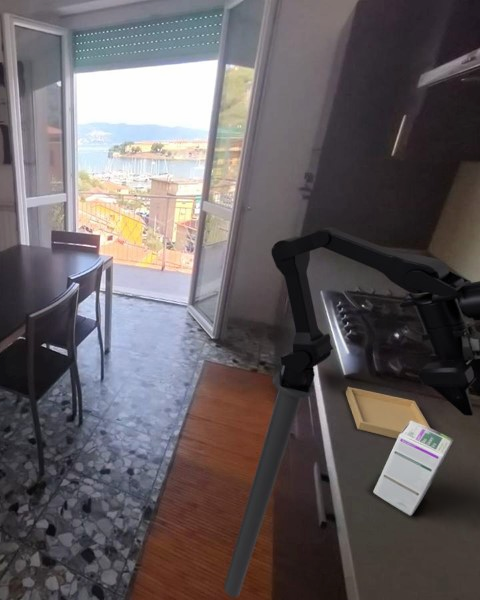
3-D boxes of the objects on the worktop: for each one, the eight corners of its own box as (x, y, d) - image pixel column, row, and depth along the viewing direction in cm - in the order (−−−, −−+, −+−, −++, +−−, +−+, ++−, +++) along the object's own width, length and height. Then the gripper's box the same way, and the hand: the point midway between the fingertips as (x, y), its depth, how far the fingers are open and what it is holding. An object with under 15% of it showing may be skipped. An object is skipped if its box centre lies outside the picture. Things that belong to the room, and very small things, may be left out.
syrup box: (411, 517, 61) (447, 456, 54) (370, 492, 65) (399, 433, 59) (421, 499, 64) (456, 439, 57) (381, 476, 68) (410, 418, 62)
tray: (357, 429, 79) (360, 422, 78) (345, 393, 90) (347, 386, 89) (434, 448, 74) (438, 441, 73) (411, 407, 85) (414, 400, 84)
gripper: (491, 332, 55) (533, 431, 53) (521, 303, 64) (558, 387, 62) (402, 340, 64) (436, 424, 63) (439, 314, 73) (469, 387, 72)
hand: (476, 405), depth 65 cm, fingers open, 9 cm apart
